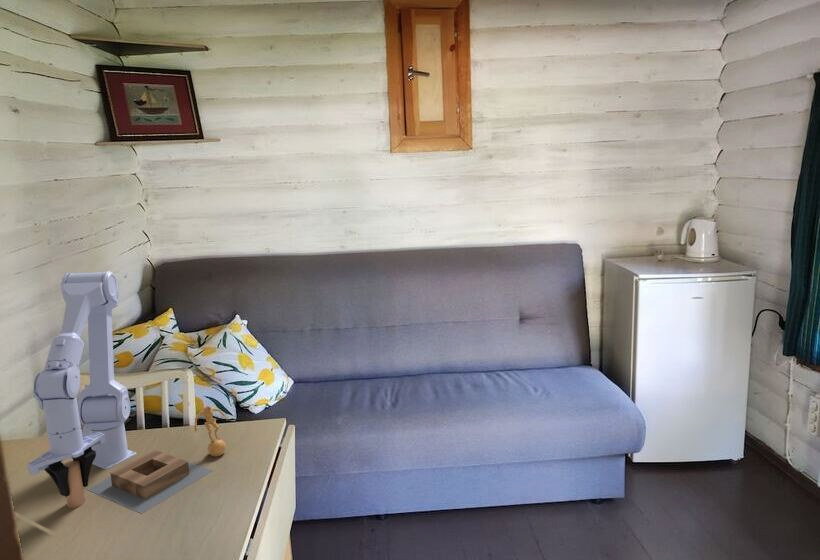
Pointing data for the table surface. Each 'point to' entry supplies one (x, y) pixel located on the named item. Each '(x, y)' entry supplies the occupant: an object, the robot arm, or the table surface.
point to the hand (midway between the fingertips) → (74, 490)
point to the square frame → (146, 486)
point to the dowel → (75, 485)
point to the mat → (143, 505)
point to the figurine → (216, 445)
